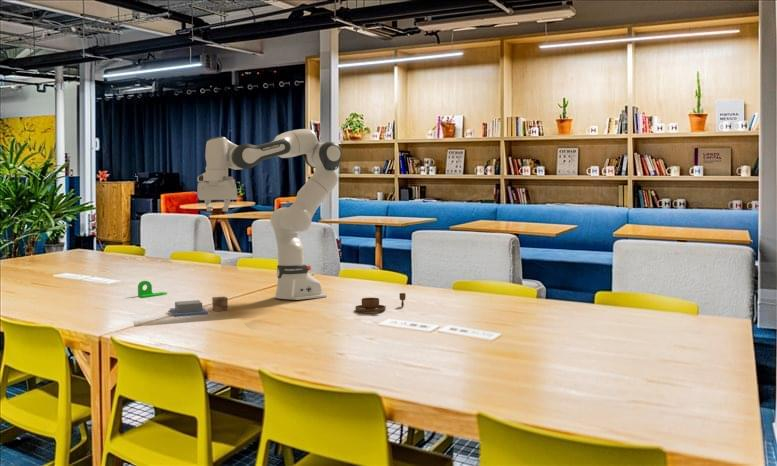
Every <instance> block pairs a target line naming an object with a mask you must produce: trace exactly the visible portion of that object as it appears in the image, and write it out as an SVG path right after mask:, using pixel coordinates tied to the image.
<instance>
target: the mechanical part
mask: <svg viewBox="0 0 777 466" xmlns="http://www.w3.org/2000/svg"><path fill="white" fill-rule="evenodd" d="M144 286H146V289H145V290H144ZM166 295H168V292H166V291H162V292H161V291H160V292H153V285H152V283H151V282H150V281H148V280H141V281H140V282H139V283H138V285H137V296H138V297H139V298H143V299H147V298H152V297H153V298H155V297H159V296H166Z"/></svg>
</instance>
